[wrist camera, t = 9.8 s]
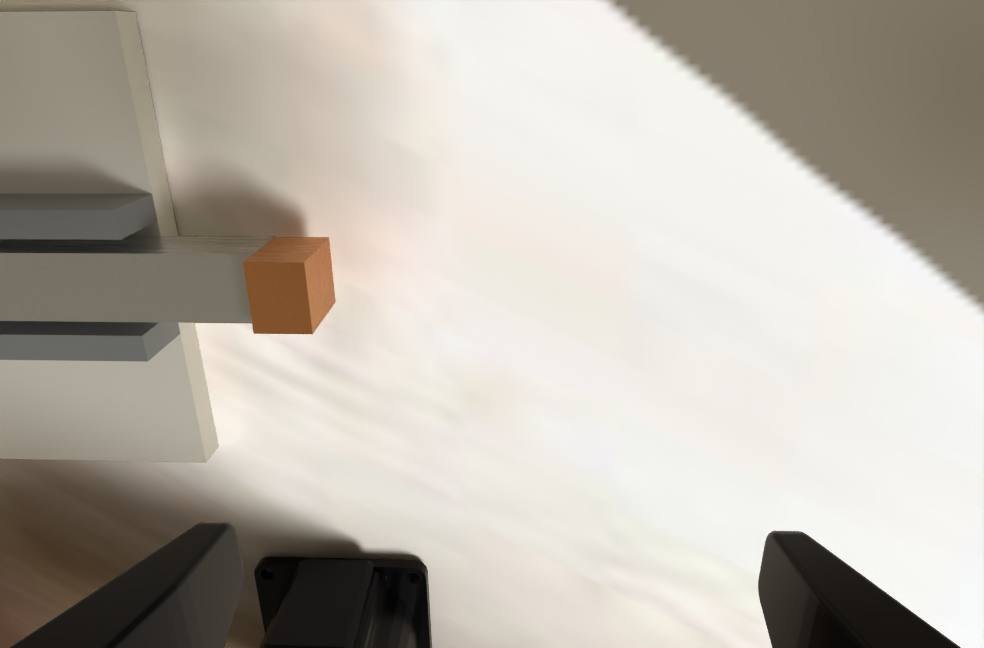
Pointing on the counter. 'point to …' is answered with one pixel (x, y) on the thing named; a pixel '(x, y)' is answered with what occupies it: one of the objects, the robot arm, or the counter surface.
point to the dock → (93, 216)
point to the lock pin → (170, 280)
